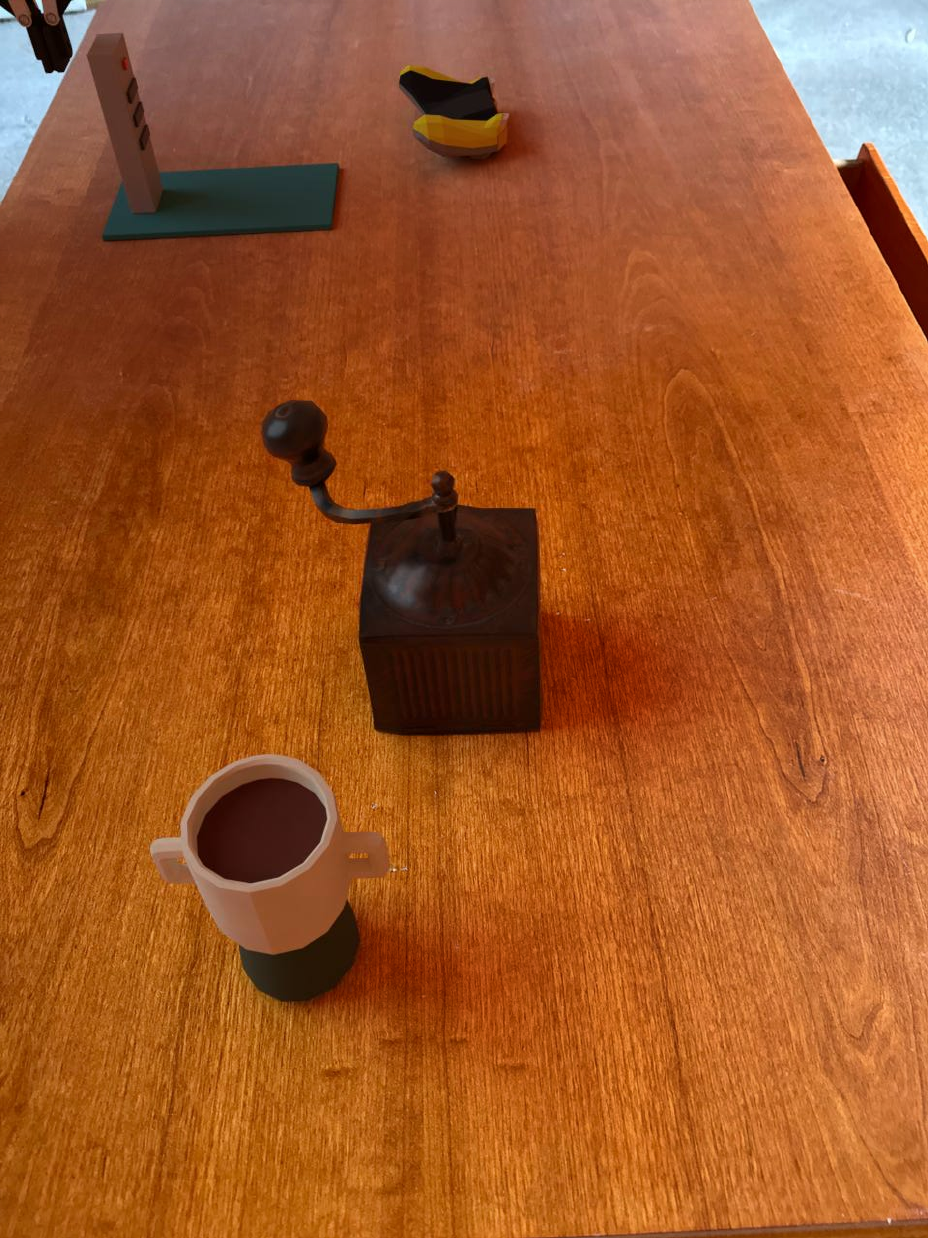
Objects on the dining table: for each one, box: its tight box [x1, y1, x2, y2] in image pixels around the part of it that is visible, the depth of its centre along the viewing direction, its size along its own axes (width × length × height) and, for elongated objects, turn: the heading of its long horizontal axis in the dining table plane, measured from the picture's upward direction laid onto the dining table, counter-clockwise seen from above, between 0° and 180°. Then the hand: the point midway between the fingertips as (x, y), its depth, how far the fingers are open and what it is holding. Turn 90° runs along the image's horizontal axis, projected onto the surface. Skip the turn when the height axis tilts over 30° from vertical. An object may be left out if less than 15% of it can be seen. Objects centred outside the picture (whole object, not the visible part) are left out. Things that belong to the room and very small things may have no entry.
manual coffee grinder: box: [260, 399, 544, 736], centre depth 66 cm, size 16×11×18 cm
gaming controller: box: [398, 64, 510, 160], centre depth 118 cm, size 15×6×10 cm
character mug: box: [149, 753, 391, 1003], centre depth 55 cm, size 11×7×13 cm, turn 90°
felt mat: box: [101, 162, 340, 242], centre depth 113 cm, size 22×12×1 cm, turn 91°
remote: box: [86, 32, 163, 214], centre depth 107 cm, size 3×5×15 cm, turn 1°
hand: (58, 66), depth 103 cm, fingers closed
